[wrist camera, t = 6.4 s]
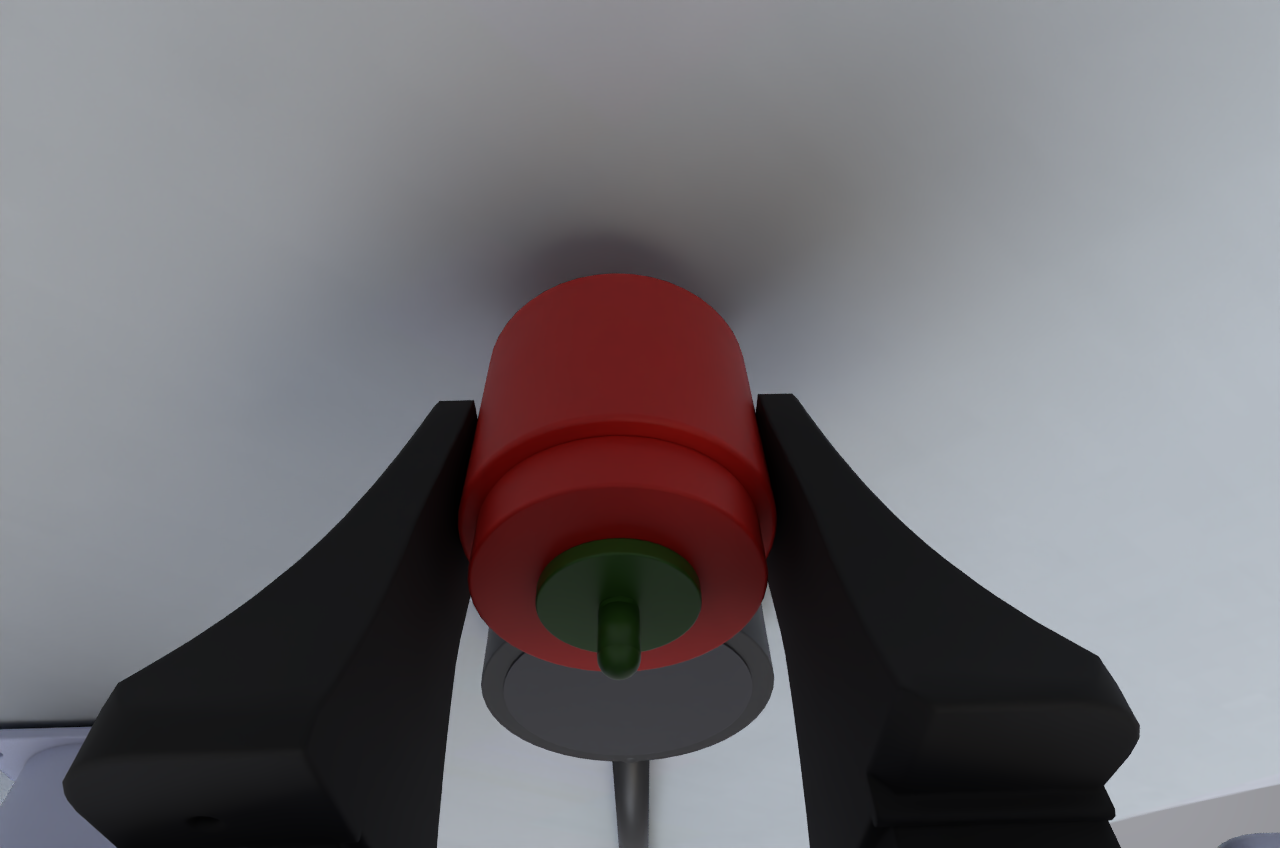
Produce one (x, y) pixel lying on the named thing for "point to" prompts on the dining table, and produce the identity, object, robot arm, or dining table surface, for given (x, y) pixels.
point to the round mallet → (631, 710)
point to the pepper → (617, 480)
